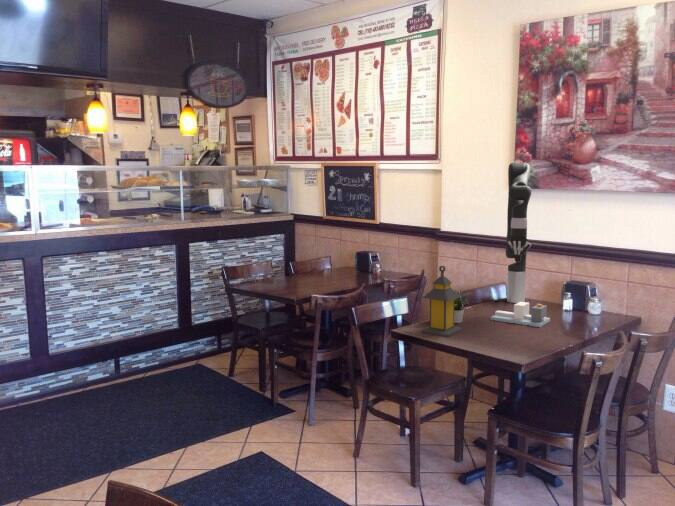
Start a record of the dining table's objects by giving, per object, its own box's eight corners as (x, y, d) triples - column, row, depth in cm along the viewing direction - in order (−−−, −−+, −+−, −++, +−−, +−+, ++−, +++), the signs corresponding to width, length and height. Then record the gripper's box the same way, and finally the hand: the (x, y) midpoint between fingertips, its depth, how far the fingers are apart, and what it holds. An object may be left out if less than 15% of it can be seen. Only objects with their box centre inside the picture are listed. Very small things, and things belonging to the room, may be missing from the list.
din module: (519, 315, 293) (520, 301, 292) (528, 316, 290) (529, 302, 289) (513, 318, 287) (514, 304, 286) (522, 320, 284) (523, 305, 283)
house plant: (472, 326, 279) (473, 292, 277) (442, 325, 282) (442, 291, 280) (472, 319, 293) (472, 286, 291) (443, 318, 296) (443, 285, 293)
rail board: (502, 314, 302) (502, 296, 301) (550, 321, 287) (550, 302, 286) (490, 319, 291) (491, 301, 290) (539, 327, 276) (540, 307, 275)
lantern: (436, 325, 283) (436, 262, 278) (463, 330, 274) (464, 265, 269) (420, 332, 272) (420, 266, 268) (447, 337, 263) (448, 269, 259)
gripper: (535, 226, 291) (534, 262, 293) (508, 225, 299) (507, 260, 302) (529, 228, 285) (528, 264, 288) (502, 226, 293) (502, 262, 296)
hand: (517, 262), depth 295 cm, fingers closed
